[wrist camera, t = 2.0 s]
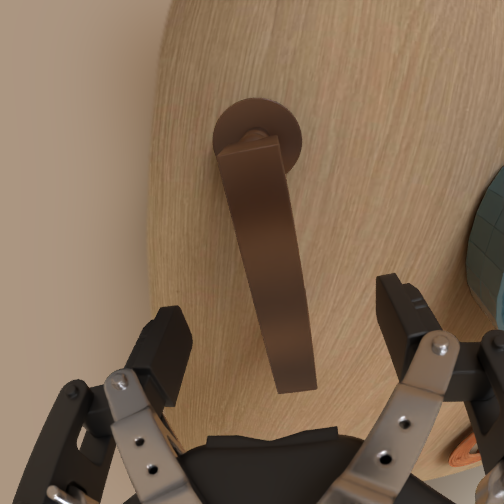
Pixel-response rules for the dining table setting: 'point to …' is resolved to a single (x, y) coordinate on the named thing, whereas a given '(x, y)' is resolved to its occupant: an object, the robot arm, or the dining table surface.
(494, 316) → the mixing bowl
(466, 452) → the ring
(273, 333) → the brown wooden bracket
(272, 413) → the dining table surface
